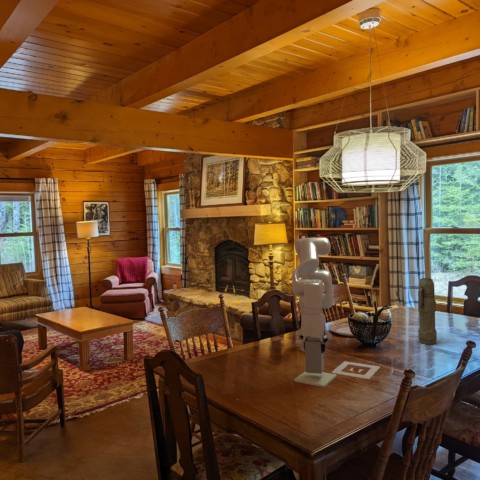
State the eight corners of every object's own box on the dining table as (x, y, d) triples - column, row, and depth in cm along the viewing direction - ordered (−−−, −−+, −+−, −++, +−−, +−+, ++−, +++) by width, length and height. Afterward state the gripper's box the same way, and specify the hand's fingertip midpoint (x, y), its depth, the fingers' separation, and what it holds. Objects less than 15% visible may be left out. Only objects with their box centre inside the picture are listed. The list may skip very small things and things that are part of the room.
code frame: (331, 373, 196) (331, 372, 196) (344, 362, 210) (344, 361, 210) (368, 379, 186) (368, 378, 186) (380, 367, 200) (380, 366, 200)
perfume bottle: (321, 373, 185) (320, 332, 184) (305, 372, 188) (304, 331, 187) (324, 368, 192) (322, 328, 191) (308, 367, 194) (307, 327, 193)
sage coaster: (293, 381, 188) (293, 379, 188) (307, 371, 199) (307, 369, 199) (324, 387, 180) (324, 385, 180) (336, 376, 192) (336, 374, 192)
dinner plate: (327, 327, 277) (327, 322, 277) (371, 326, 275) (371, 321, 274) (332, 339, 250) (331, 333, 250) (381, 338, 247) (380, 333, 247)
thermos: (441, 342, 236) (439, 277, 234) (430, 346, 228) (429, 280, 226) (425, 339, 242) (423, 276, 241) (414, 343, 235) (412, 279, 233)
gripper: (291, 310, 190) (292, 351, 191) (328, 314, 180) (330, 356, 181) (298, 307, 196) (300, 346, 197) (335, 310, 187) (336, 351, 187)
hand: (314, 351), depth 189 cm, fingers closed on perfume bottle, 6 cm apart
